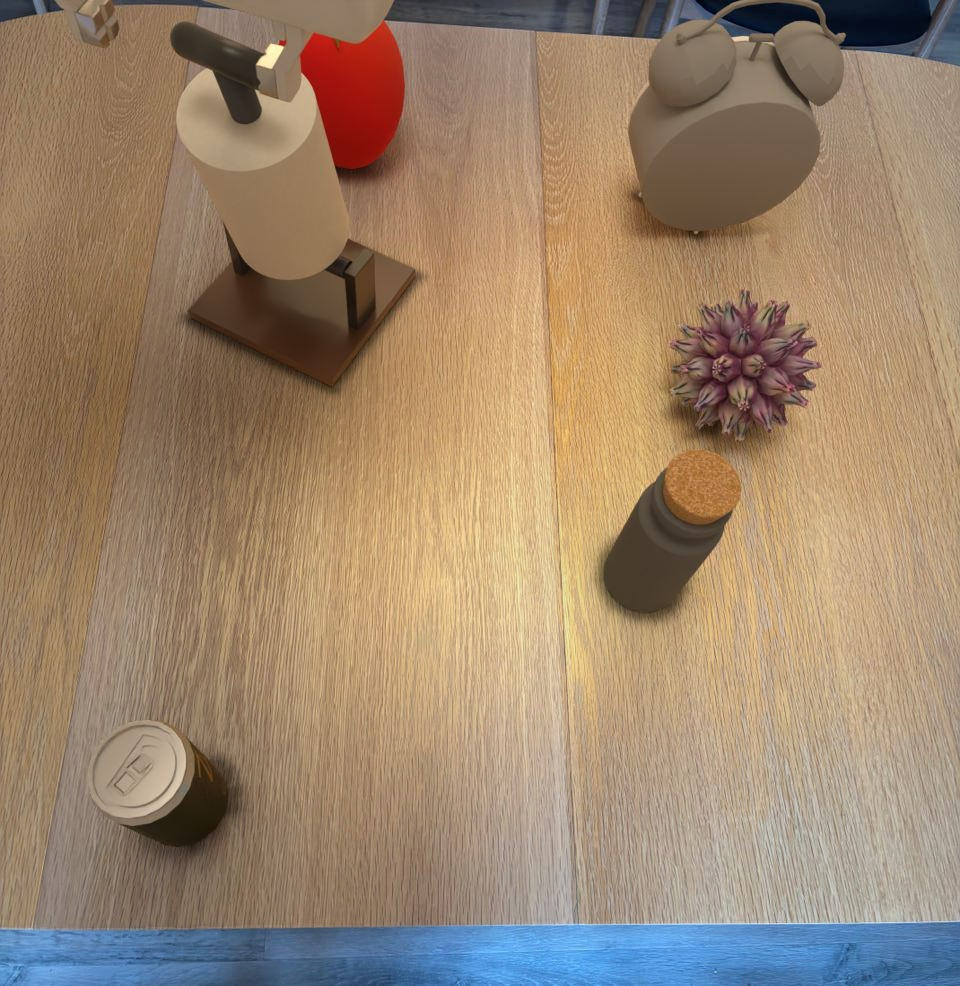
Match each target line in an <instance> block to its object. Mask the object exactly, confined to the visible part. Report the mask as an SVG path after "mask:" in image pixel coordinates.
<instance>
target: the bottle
mask: <svg viewBox="0 0 960 986" xmlns="http://www.w3.org/2000/svg"><path fill="white" fill-rule="evenodd" d="M741 496H742V483H741V479H740V477H739V474H738V472H737V470H736V469H735V468H734V466H733V465H732V464H731V463H730V462H728V460H727V459H725V458H724V457H722V456H721V455H719V454H718V453H715V452H712V451H710V450H706V449H705V450H704V449H697V448H696V449H687V450H685V451H683V452H680V453H678V454H676V455H675V456H674V457H673V458H672V459H671V460H669V462H668V464H667V465H666V467H664V469H663V470H661V472H660V473H659V474H658V476H657V477H656V479H655V480H654V482H652V483H651V484H649V485H648V486H647V487H646V488H645V489H644V490H643V492H642V493H641V495H640V497H639V498H638V500H637V502H636V503H635V505H634V507H633V509H632V510H631V512H630V514H629V516H628V517H627V520H626V522H624V523H625V524H624V525H623V527H622V528H621V531H620V532H619V534H618V536H617V538H616V540H615V542H614V543H613V545H612V547H611V549H610V551H609V553H608V555H607V557H606V560H605V562H604V566H603V578H604V583H605V586H606V589H607V590H608V592H609V593H610V595H611V597H612V598H614V600H615V601H616V602H617V603H619V604H620V605H621V606H623V607H625V608H627V609H629V610H631V611H634V612H638V613H653V612H657V611H659V610H661V609H664V608H666V607H667V606H668V605H670V603H672V601H673V600H674V599H675V598H676V597H677V596H678V595H679V593H680V592H681V591H682V590H683V589H684V587H685V586H686V585H687V584H688V582H689V581H690V580H691V578H692V577H693V576H694V575H695V574H696V572H697V571H698V570H699V569H700V567H702V565H703V564H704V562H705V561H706V560H707V558H708V557H709V556H710V555H711V553H712V552H713V551H714V549H715V548H716V547H717V546H718V544H719V542H720V541H721V539H722V537H723V536H724V532H725V526H726V525H727V523H728V522H729V521H730V519H731V517H732V515H733V512H734V509H735V508H736V507H737V506H738V504H739V501H740V499H741Z"/></svg>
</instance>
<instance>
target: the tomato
mask: <svg viewBox="0 0 960 986" xmlns="http://www.w3.org/2000/svg"><path fill="white" fill-rule="evenodd" d="M278 41H279V42H278V45H280V46H285V45H286V43H287V41H286V40H285V41H282V40H278ZM300 64H301V73H302V74H303V75H304V76H305V77H306V78H307V80H308V81H309V83H310V84H311V86H312V88H313V91H314V93H315V97H316V100H317V104H318V108H319V111H320V115H321V118H322V122H323V126H324V129H325V133H326V137H327V140H328V144H329V148H330V151H331V155H332V158H333V162H334V166H335V167H339V168H342V169H347V170H350V169H351V170H352V169H354V170H355V169H359V168H363V167H366V166H369V165H370V164H372V163H374V162H375V161H376V160H377V159H378V158H379V157H380V156H382V154H383V153H384V152H385V151H386V150H387V148H388V146H389V145H390V143H391V142H392V141H393V139H394V137H395V135H396V133H397V130H398V127H399V124H400V122H401V118H402V115H403V112H404V110H403V109H404V102H405V96H406V95H405V93H406V82H405V71H404V61H403V58H402V54H401V51H400V49H399V44H398V42H397V40H396V37H395V36H394V34H393V32H392V31H391V29H390V27H389V25H388V24H387V22H386V21H385V19H384V20H383V21H382V23H381V24H380V25H379V26H378V28H377V29H376V30H375V31H374V32H373V33H371V34H370V35H369V36H368V37H367V38H366V39H365V40H364V41H362V42H360V43H357V44H353V43H348V42H345V41H341V40H338V39H335V38H331V37H328V36H325V35H321V34H318V33H313V34H312V36H311V37H310V39H309V41H308V42H307V44H306V46H305V47H304V49H303V51H302V52H301V54H300Z"/></svg>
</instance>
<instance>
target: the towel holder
mask: <svg viewBox="0 0 960 986" xmlns="http://www.w3.org/2000/svg"><path fill="white" fill-rule="evenodd" d="M169 41H170V46H171V48H172V50H173V52H175V53H176V54H177V56H179V57H181V58H182V59H185V60H187V61H189V62H191V63H194V64H196V65H197V66H201V67H203V68H204V69H203V70H201V71H200V72H199V73H198V74H197V75H196V76H194V78H192V79H191V80H190V82H189V83H188V84H187V86H186V87H185V88H184V90H183V92H182V94H181V96H180V98H179V100H178V102H177V103H178V104H177V107H176V113H175V123H176V124H175V125H176V130H177V133H178V136H179V139H180V141H181V142H182V145H183V146H184V148H185V150H186V153H187V154H188V155H189V158H190V160H191V163H192V164H193V166H194V168H195V170H196V172H197V174H198V175H199V177H200V179H201V181H202V183H203V185H204V187H205V189H206V191H207V193H208V195H209V197H210V199H211V200H212V203H213V204H214V206H215V209H216V210H217V212H218V214H219V216H220V218H221V221H222V220H223V221H222V223H223V222H224V224H225V226H226V228H227V230H228V232H229V234H230V236H231V238H232V240H233V242H234V243H235V245H236V247H237V249H238V251H239V253H240V255H241V257H242V258H243V259H244V261H245V262H246V263H247V264H248V265H249V266H250V267H251V268H253V269H254V270H255V271H257V272H259V273H260V274H262V275H265V276H267V277H270V278H274V279H280V280H296V279H302V278H306V277H309V276H312V275H315V274H317V273H319V272H321V271H322V270H325V271H328V272H330V273H332V274H334V275H336V276H338V277H340V278H343V279H345V275H344V272H345V271H346V270H347V268H348V267H349V266H350V265H351V263H352V260H350V259H347V258H345V257H343V256H341V255H340V254H341V252H342V250H343V249H344V247H345V245H346V242H347V239H349V236H350V235H349V234H350V217H349V214H348V209H347V206H346V203H345V199H344V195H343V191H342V187H341V184H340V180H339V177H338V173H337V170H336V166H335V165H334V162H333V158H332V155H331V151H330V148H329V144H328V140H327V137H326V133H325V129H324V126H323V122H322V118H321V115H320V111H319V108H318V104H317V100H316V97H315V93H314V91H313V88H312V86H311V84H310V83H309V81H308V80H307V78H306V77H305V76H304V75H303V74H302V73H301V77H302V80H301V85H300V88H299V90H298V92H297V94H296V95H295V97H294V98H293V100H292V101H291V102H289V103H288V102H285V101H282V100H278V99H275V98H272V97H269V96H266V95H263V94H260V92H259V88H258V86H259V84H260V83H261V82H260V81H259V80H258V78H257V73H256V63H257V62H258V60H259V59H260V57H261V56H264V55H265V53H264V52H261V51H259V50H257V49H254V48H252V47H249V46H247V45H244V44H242V43H240V42H239V41H235V40H234V39H231V38H229V37H226V36H224V35H221V34H219V33H217V32H214V31H212V30H209V29H207V28H205V27H203V26H201V25H198V24H196V23H194V22H190V21H179V22H177V23H176V24H175V25H173V27H172V28H171V31H170V33H169Z"/></svg>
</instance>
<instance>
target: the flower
mask: <svg viewBox="0 0 960 986" xmlns="http://www.w3.org/2000/svg"><path fill="white" fill-rule="evenodd" d="M790 307H791V304H790V303H789V301H788V300H785V301H781V302H780V304H779V303H778V301H777V300H775V299H769V300H768V301H767V303H766V305H765V306H763V307H761V308H760V309H759V303H758V301H757V300H755V301H753V300H751V293H750V289H749V288H746V289H745V290H744V289H743V288H740V290H739V292H738V299H737V301H736V303H735V305H734V302H733V300H732V299H730V300H726V302H725V303H724V309H723V308H722V307H721V305H720V303H717V302H714V304H711V307H708V305H707V304H706V303H705V302H703V301H700V302H699V304H698V305H696V309H697V311H698V313H699V315H700V320H701V322H700V326H690V325H688V324H686V323H683V322H682V323H681V324H680V328H679V332H680V333H682V335H684V337H685V338H683V339H677V338H672V339H671V342H670V343H669V346H668V348H669V349H672V350H674V351H675V352H677V354H679V356H681V358H682V359H683V360H682V361H681V362H679V363H677V364H674V365H671V366H670V369H669V371H670V374H672V375H679V376H680V378H679V380H678V381H677V383H676V384H675V385H674V386H673V387H671V388H670V389H668V391H669V392H670V393H669V394H670V396H671V398H672V399H676V398H684V399H683V400H681V402H680V403H681V405H682V406H683V408H684V407H686V408H687V406H688V407H689V406H690V405H694V406H693V409H694V411H695V412H699V414H698V419H697V421H696V423H695V424H694V425H695V426H697V428H698V430H701V428H702V427H703V426H704V425H706V424H707V425H708V426H709V427H710V426H711V427H713V426H715V424H716V423H717V422H718V421H719V420H720V422H721V434H722V435H724V436H727V435H728V436H731V434H732V431H733V434H734V440H735V442H739V441H745V440H746V433H747V432H748V430H749V429H750V428H754V427H755V426H757V425H756V424H757V423H758V424H759V425H761V426H762V427H763V428H764V429H765V432H766V433H768V434H771V433H772V431H773V430H775V425H774V423H776V424H777V425H778V426H779V427H780V428H783V427H786V425H788V424H789V420H788V419H787V416H786V406H785V405H787V406H791V405H792V406H799V407H801V408H803V409H805V408H806V406H808V405H809V403H810V401H809V400H808V399H807V398H805V396H803V395H802V394H801V391H808V392H813V390H814V389H815V388H816V387H817V384H816V383H815V382H814V381H811V380H809V379H808V378H807V376H805V373H807V372H809V371H812V370H818V369H821V368H822V363H821V361H818V360H817V361H816V360H810V359H807V358H805V357H804V356H805V354H807V352H808V351H809V350H811V349H813V348H815V347H818V341H817V340H816V337H814V336H810V337H803V336H804V335H805V333H807V331H808V330H810V329H811V327H812V325H811V324H810V322H809V321H808V320H804V321H802V322H800V323H797V324H796V323H795V324H786V317H787V313H788V311H789V310H790Z"/></svg>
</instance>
